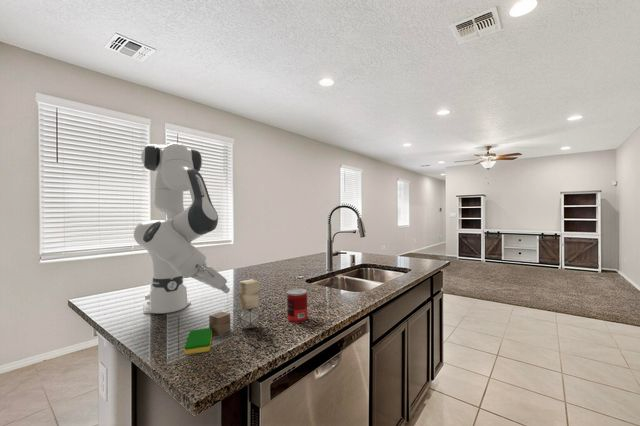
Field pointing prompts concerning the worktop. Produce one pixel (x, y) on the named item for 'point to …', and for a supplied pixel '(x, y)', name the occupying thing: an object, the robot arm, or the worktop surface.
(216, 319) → the walnut block
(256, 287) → the maple block
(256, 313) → the game die
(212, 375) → the worktop surface
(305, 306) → the canned food
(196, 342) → the dish sponge
